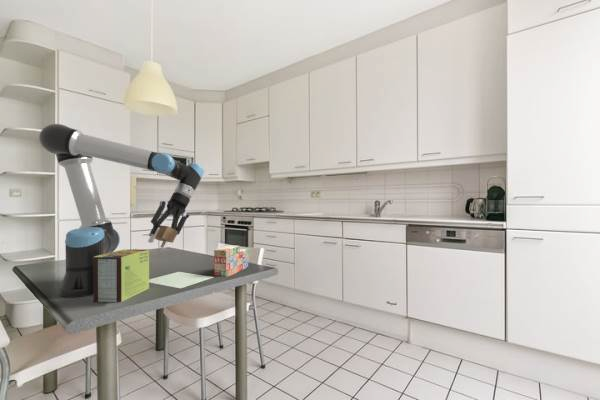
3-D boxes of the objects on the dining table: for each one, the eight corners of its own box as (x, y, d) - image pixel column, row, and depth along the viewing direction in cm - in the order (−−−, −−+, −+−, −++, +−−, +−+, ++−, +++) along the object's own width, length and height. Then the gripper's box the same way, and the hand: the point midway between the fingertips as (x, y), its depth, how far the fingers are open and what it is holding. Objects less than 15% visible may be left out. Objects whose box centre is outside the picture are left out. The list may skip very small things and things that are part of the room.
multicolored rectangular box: (237, 266, 152) (237, 242, 152) (248, 267, 150) (248, 243, 150) (213, 276, 131) (213, 249, 131) (226, 277, 129) (226, 249, 130)
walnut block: (172, 242, 118) (158, 240, 126) (178, 231, 120) (164, 229, 128) (162, 237, 115) (148, 235, 123) (168, 226, 117) (154, 224, 125)
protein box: (149, 289, 112) (149, 249, 112) (121, 303, 97) (121, 256, 97) (124, 289, 113) (124, 248, 113) (92, 302, 98) (92, 256, 98)
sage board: (142, 282, 122) (142, 281, 122) (178, 273, 138) (178, 271, 138) (180, 289, 112) (180, 288, 112) (214, 278, 128) (214, 277, 128)
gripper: (168, 184, 120) (139, 236, 112) (203, 205, 133) (179, 254, 124) (160, 185, 125) (131, 235, 116) (194, 205, 137) (170, 252, 129)
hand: (156, 244), depth 120 cm, fingers closed on walnut block, 5 cm apart
